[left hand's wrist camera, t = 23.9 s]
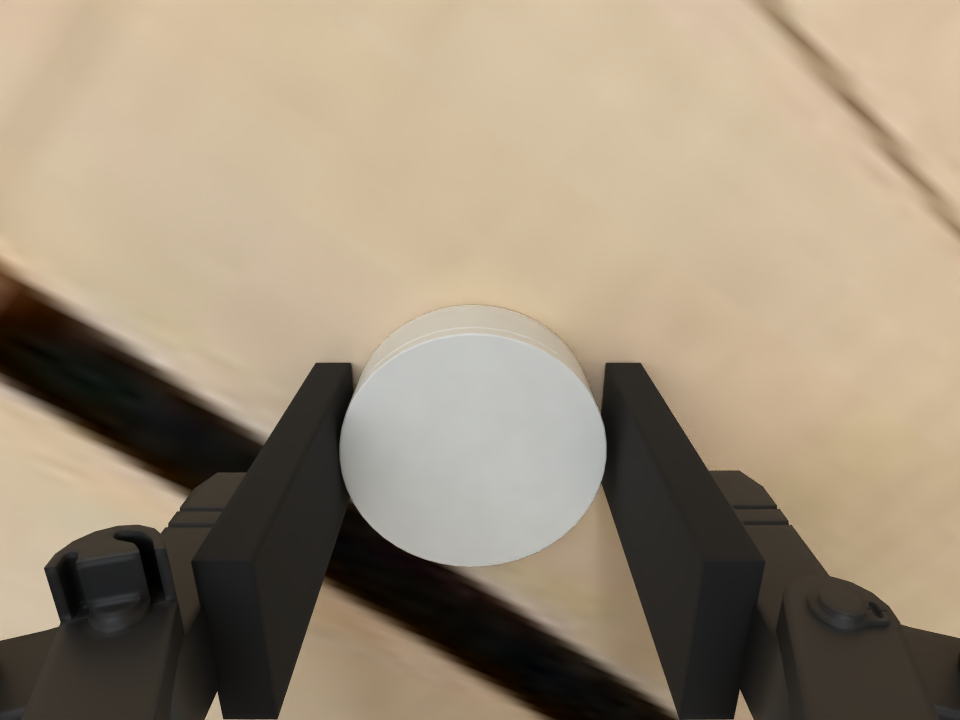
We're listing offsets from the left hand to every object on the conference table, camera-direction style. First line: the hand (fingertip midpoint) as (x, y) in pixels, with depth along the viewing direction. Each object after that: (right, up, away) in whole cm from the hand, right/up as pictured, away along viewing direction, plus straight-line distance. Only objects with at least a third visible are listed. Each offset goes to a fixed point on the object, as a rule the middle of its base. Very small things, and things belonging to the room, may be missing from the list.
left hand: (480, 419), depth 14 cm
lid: (0, -1, -1) cm, 1 cm away
